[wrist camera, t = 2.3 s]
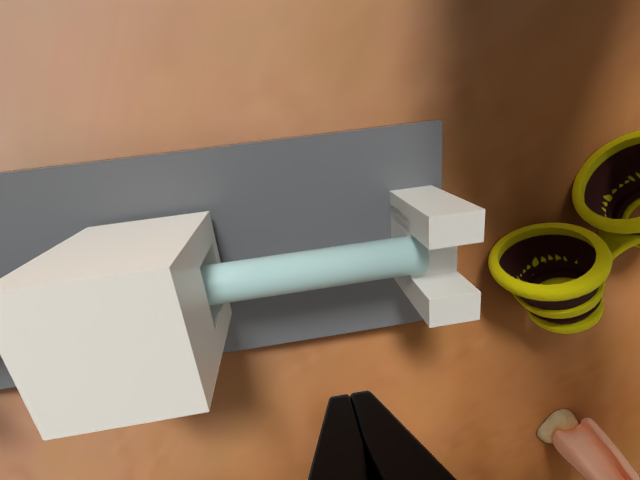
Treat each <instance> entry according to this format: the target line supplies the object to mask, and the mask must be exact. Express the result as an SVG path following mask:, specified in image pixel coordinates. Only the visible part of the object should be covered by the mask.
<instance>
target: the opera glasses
mask: <svg viewBox="0 0 640 480" xmlns="http://www.w3.org/2000/svg"><path fill="white" fill-rule="evenodd" d="M632 145H633V146H632ZM624 148H625V149H624ZM616 152H617V153H616ZM592 173H593V174H592ZM572 201H573V204H574V207H575V209H576V211H577V213H578V214H579V215H580V217H581V218H582V219H583V220H584V221H585V222H587V223H588V224H590V225H591V226H593V227H595V228H598V233H597V234H595V233H594V232H592V231H590V230H588V229H586V228H583V227H581V226H577V225H572V224H568V223H540V224H534V225H530V226H525V227H522V228H519V229H517V230H515V231H512V232H510V233H509V234H507V235H505V236H504V237H503V238H501V239H500V240H499V241H498V242H497V243H496V244H495V245H494V247H493V248H492V249H491V252H490V255H489V258H488V267H489V270H490V273H491V275H492V276H493V278H494V279H495V280H496V282H497V283H498V284H500V285H501V286H502V287H503V288H505V289H506V290H508V291H510V292H512V294H513V295H514V297H515V298H516V299H517V300H518V301H519V302H520V303H521V304H522V305H523V307H524V308H526V310H527V313H528V315H529V316H530V318H531V319H532V320H533V321H534V322H535V323H536V324H537V325H538V326H540V327H542V328H544V329H546V330H548V331H551V332H555V333H562V334H571V333H578V332H581V331H584V330H587V329H589V328H591V327H592V326H594V325H595V324H597V322H598V321H599V320H600V319H601V317H602V315H603V312H604V301H603V298H602V296H603V292H604V289H605V282H606V279H607V278H608V276H609V274H610V271H611V269H612V261H613V260H614V259H615V258H616V257H617V256H618V255H620V254H621V253H622V252H624V251H625V250H627V249H629V248H631V247H637V248H639V249H640V217H636V218H631V219H629V216H630V214H631V213H632V211H633V210H634V209H635V208H636V207H638V206H639V205H640V130H638V131H634V132H631V133H628V134H625V135H623V136H620V137H618V138H616V139H614V140H612V141H610V142H608V143H607V144H605V145H604V146H602V147H601V148H600V149H598V150H597V151H596V152H594V153H593V154H592V155H591V156H590V157H589V158H588V159H587V160H586V162H585V163H584V164H583V166H582V167H581V169H580V170H579V172H578V174H577V175H576V178H575V180H574V184H573V188H572ZM556 234H557V235H556ZM526 238H527V239H526ZM513 244H514V245H513ZM499 260H500V261H499ZM533 274H534V275H533ZM532 275H533V276H532ZM561 283H562V284H561Z"/></svg>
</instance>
